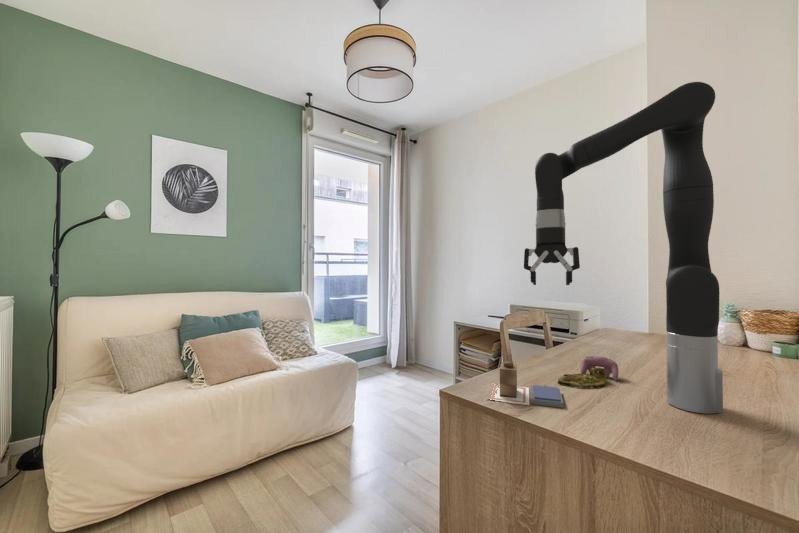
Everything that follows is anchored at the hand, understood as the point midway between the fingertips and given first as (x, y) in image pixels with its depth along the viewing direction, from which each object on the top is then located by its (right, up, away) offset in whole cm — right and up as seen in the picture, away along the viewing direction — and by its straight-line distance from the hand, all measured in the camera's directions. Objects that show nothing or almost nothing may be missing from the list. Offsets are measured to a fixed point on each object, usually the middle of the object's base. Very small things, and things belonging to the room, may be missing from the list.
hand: (550, 284), depth 96 cm
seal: (+10, -29, +2) cm, 30 cm away
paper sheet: (-14, -28, -7) cm, 32 cm away
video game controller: (+18, -28, +7) cm, 34 cm away
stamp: (-14, -28, -6) cm, 32 cm away
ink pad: (-5, -28, -10) cm, 30 cm away
